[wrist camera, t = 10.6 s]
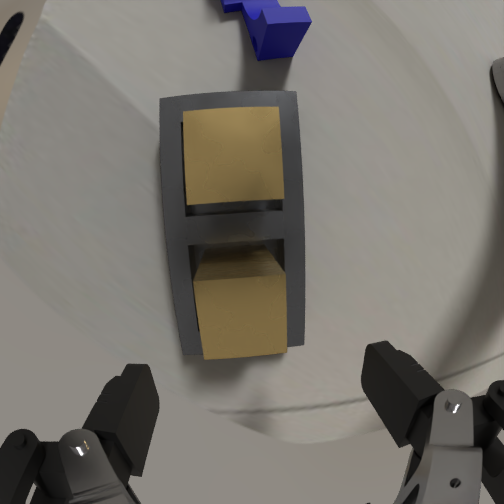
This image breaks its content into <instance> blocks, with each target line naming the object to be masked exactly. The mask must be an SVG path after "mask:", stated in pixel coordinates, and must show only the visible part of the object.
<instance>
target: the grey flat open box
mask: <svg viewBox="0 0 504 504" xmlns="http://www.w3.org/2000/svg"><path fill="white" fill-rule="evenodd" d="M234 107H279V117H280V131H281V146H282V162H283V181H284V199H270V200H251V201H234V202H220V203H206V204H194V205H187V197H186V180H185V161H184V134H183V112H184V111H193V110H204V109H217V108H234ZM160 161H161V182H162V197H163V211H164V223H165V233H166V243H167V252H168V261H169V269H170V277H171V284H172V291H173V298H174V305H175V311H176V317H177V323H178V329H179V335H180V340H181V346H182V351H183V355H193V354H203V348H202V342H201V336H200V329H199V322H198V315H197V308H196V301H195V293H194V285H193V280H194V278H195V275H196V272H197V269H198V267H199V264H200V262H201V259H202V256H203V254H204V251H205V249H209V248H222V247H235V246H248V245H262V244H264V245H265V246H266V247H267V249H268V250H269V252H270V253H271V254H272V256H273V257H274V259H275V260H276V261H277V263H278V264H279V265H280V267H281V268H282V270H283V271H284V272H285V274H286V305H287V347H293V346H300V345H304V334H305V226H304V197H303V175H302V158H301V143H300V129H299V116H298V105H297V94H296V91H231V92H214V93H202V94H191V95H182V96H174V97H167V98H160Z"/></svg>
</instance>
